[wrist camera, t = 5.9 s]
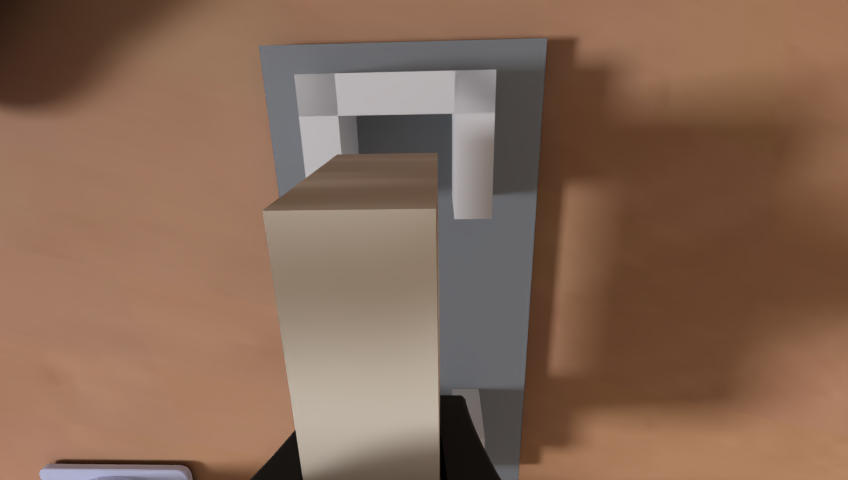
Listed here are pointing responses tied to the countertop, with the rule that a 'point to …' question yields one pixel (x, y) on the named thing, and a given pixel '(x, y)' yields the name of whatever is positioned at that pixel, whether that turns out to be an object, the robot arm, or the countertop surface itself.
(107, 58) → the countertop surface
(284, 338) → the slat
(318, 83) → the board
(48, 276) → the countertop surface
